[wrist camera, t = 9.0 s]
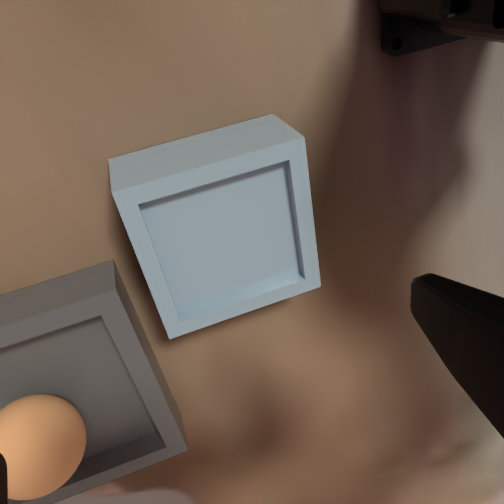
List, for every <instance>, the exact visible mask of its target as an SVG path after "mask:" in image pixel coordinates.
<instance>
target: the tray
mask: <svg viewBox="0 0 504 504" xmlns="http://www.w3.org/2000/svg"><path fill="white" fill-rule="evenodd" d="M34 394H49V395H54V396H57V397H60V398H62V399H64V400H66V401H67V402H69V403H70V404H72V405H73V406H74V407H75V408H76V410H77V411H78V412H79V414H80V415H81V417H82V419H83V422H84V425H85V429H86V446H85V451H84V454H83V457H82V460H81V462H80V464H79V466H78V467H77V469H76V471H75V472H74V473H73V475H72V476H71V477H70V478H69V479H68V480H67V481H66V482H65V483H64V484H63V485H62V486H61V487H59V488H58V489H56V490H55V491H53V492H51V493H50V494H48V495H45V496H43V497H40V498H36V499H31V500H13V499H9V498H8V504H53V503H56V502H58V501H61V500H63V499H66V498H69V497H71V496H74V495H76V494H79V493H81V492H84V491H86V490H89V489H92V488H94V487H97V486H99V485H102V484H104V483H107V482H109V481H112V480H115V479H117V478H120V477H122V476H125V475H127V474H130V473H132V472H135V471H138V470H140V469H143V468H145V467H148V466H150V465H153V464H155V463H158V462H161V461H163V460H166V459H168V458H171V457H173V456H176V455H178V454H181V453H184V452H186V451H188V446H187V441H186V436H185V432H184V427H183V422H182V417H181V415H180V412H179V410H178V408H177V405H176V403H175V401H174V399H173V396H172V394H171V392H170V389H169V387H168V385H167V382H166V380H165V378H164V376H163V373H162V371H161V369H160V366H159V364H158V362H157V359H156V357H155V355H154V353H153V350H152V348H151V346H150V343H149V341H148V339H147V336H146V334H145V332H144V329H143V327H142V325H141V323H140V320H139V318H138V316H137V313H136V311H135V309H134V306H133V304H132V302H131V300H130V297H129V295H128V293H127V290H126V288H125V286H124V283H123V281H122V279H121V277H120V274H119V272H118V270H117V267H116V265H115V263H114V260H112V261H109V262H106V263H102V264H99V265H96V266H93V267H90V268H86V269H83V270H80V271H77V272H74V273H70V274H67V275H64V276H61V277H58V278H55V279H51V280H48V281H45V282H42V283H39V284H35V285H32V286H29V287H26V288H23V289H19V290H16V291H13V292H10V293H7V294H3V295H0V410H1V409H2V408H4V407H5V406H6V405H8V404H9V403H11V402H13V401H15V400H17V399H19V398H22V397H25V396H28V395H34Z"/></svg>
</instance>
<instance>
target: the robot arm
mask: <svg viewBox="0 0 504 504" xmlns="http://www.w3.org/2000/svg"><path fill="white" fill-rule="evenodd" d="M378 6H379V8H380V9H381V47H382V51H383V52H384V53H385V54H387V55H389V56H400V55H404V54H407V53H411V52H415V51H419V50H422V49H426V48H430V47H434V46H437V45H441V44H445V43H448V42H452V41H456V40H460V39H463V38H467V37H469V38H476V39H482V40H489V41H495V42H502V43H504V0H378ZM395 38H396V39H397V44H396V46H395V47H394V48H393V49H392V41H393V40H394V39H395ZM410 307H411V312H412V314H413V316H414V318H415V320H416V321H417V323H418V324H419V326H420V327H421V329H422V330H423V332H424V333H425V335H426V337H427V338H428V340H429V341H430V343H431V344H432V346H433V347H434V349H435V350H436V352H437V353H438V355H439V356H440V358H441V360H442V361H443V363H444V364H445V366H446V367H447V368H448V370H449V371H450V373H451V374H452V375H453V377H454V378H455V379H456V381H457V382H458V383H459V384H460V386H461V387H462V388H463V389H464V391H465V392H466V393H467V394H468V395H469V397H470V398H471V399H472V400H473V402H474V403H475V404H476V405H477V406H478V408H479V409H480V410H481V411H482V413H483V414H484V415H485V416H486V417H487V419H488V420H489V421H490V422H491V424H492V425H493V426H494V427H495V428H496V430H497V431H498V432H499V433H500V435H501V436H502V437H503V438H504V298H503V297H500V296H497V295H494V294H491V293H489V292H486V291H483V290H480V289H477V288H474V287H471V286H468V285H465V284H462V283H459V282H456V281H453V280H450V279H447V278H445V277H442V276H439V275H436V274H432V273H428V274H425V275H422V276H419V277H416V278H414V279H413V280H412V282H411V303H410ZM0 504H8V477H7V463H6V460H5V458H4V456H3V455H2V454H1V453H0Z"/></svg>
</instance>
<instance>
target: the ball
mask: <svg viewBox="0 0 504 504" xmlns="http://www.w3.org/2000/svg"><path fill="white" fill-rule="evenodd" d="M85 446H86V429H85V425H84V422H83V419H82V417H81V415H80V414H79V412H78V411H77V410H76V408H75V407H74V406H73V405H72V404H70V403H69V402H67V401H66V400H64V399H62V398H60V397H57V396H54V395H49V394H34V395H28V396H25V397H22V398H19V399H17V400H15V401H13V402H11V403H9V404H8V405H6V406H5V407H4V408H2V409H1V410H0V453H1V454H2V455H3V456H4V458H5V460H6V463H7V477H8V498H9V499H13V500H31V499H36V498H40V497H43V496H45V495H48V494H50V493H51V492H53V491H55V490H56V489H58V488H59V487H61V486H62V485H63V484H64V483H65V482H66V481H67V480H68V479H69V478H70V477H71V476H72V475H73V473H74V472H75V471H76V469H77V467H78V466H79V464H80V462H81V460H82V457H83V454H84V451H85Z"/></svg>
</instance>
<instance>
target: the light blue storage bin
mask: <svg viewBox="0 0 504 504" xmlns="http://www.w3.org/2000/svg"><path fill="white" fill-rule="evenodd" d="M108 163H109V173H110V183H111V193H112V195H113V198H114V200H115V203H116V205H117V208H118V210H119V213H120V215H121V218H122V221H123V223H124V226H125V228H126V231H127V233H128V236H129V238H130V241H131V243H132V246H133V248H134V251H135V253H136V256H137V259H138V261H139V264H140V266H141V269H142V271H143V274H144V276H145V279H146V281H147V284H148V286H149V289H150V291H151V294H152V296H153V299H154V302H155V304H156V307H157V309H158V312H159V314H160V317H161V319H162V322H163V324H164V327H165V329H166V332H167V334H168V337H169V339H172V338H175V337H178V336H181V335H184V334H187V333H189V332H192V331H195V330H198V329H201V328H204V327H207V326H209V325H212V324H215V323H218V322H221V321H224V320H227V319H230V318H232V317H235V316H238V315H241V314H244V313H247V312H250V311H253V310H255V309H258V308H261V307H264V306H267V305H270V304H273V303H275V302H278V301H281V300H284V299H287V298H290V297H293V296H296V295H298V294H301V293H304V292H307V291H310V290H313V289H316V288H319V287H321V281H320V272H319V263H318V254H317V245H316V236H315V226H314V217H313V208H312V199H311V190H310V181H309V172H308V163H307V154H306V144H305V137H304V136H303V135H301V134H300V133H299V132H297V131H296V130H295V129H293V128H292V127H290V126H289V125H288V124H286V123H285V122H284V121H282V120H281V119H280V118H278V117H277V116H275V115H274V114H269V115H266V116H262V117H258V118H255V119H251V120H248V121H244V122H240V123H237V124H233V125H230V126H226V127H222V128H219V129H215V130H212V131H208V132H204V133H201V134H197V135H193V136H190V137H186V138H183V139H179V140H175V141H172V142H168V143H165V144H161V145H157V146H154V147H150V148H146V149H143V150H139V151H136V152H132V153H128V154H125V155H121V156H118V157H114V158H110V159H108Z"/></svg>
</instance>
